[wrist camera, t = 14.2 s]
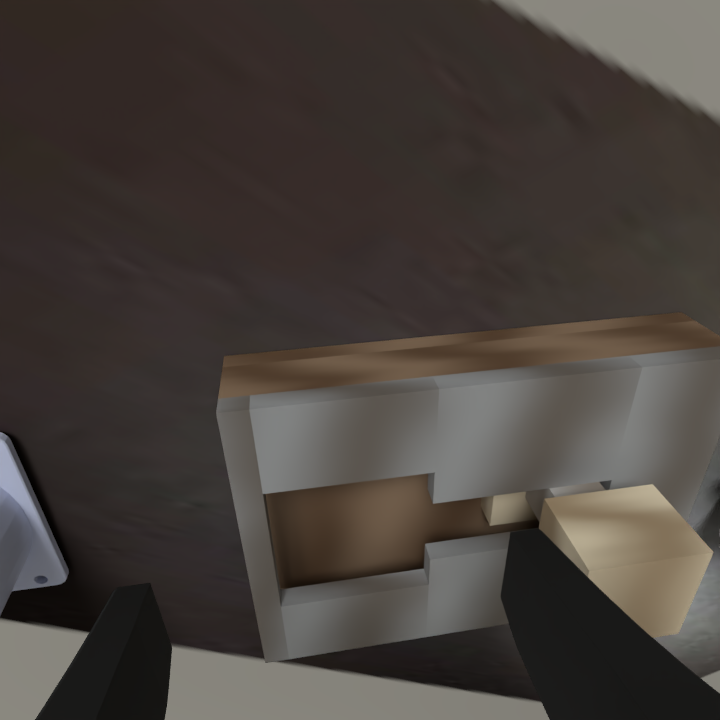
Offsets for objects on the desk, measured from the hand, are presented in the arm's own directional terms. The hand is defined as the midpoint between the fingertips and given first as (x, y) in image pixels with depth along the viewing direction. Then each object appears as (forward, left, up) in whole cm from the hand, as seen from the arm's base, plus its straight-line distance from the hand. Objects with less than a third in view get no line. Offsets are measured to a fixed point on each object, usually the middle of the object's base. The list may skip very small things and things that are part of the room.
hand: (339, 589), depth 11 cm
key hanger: (+10, -6, -10) cm, 15 cm away
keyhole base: (+6, -6, -10) cm, 14 cm away
